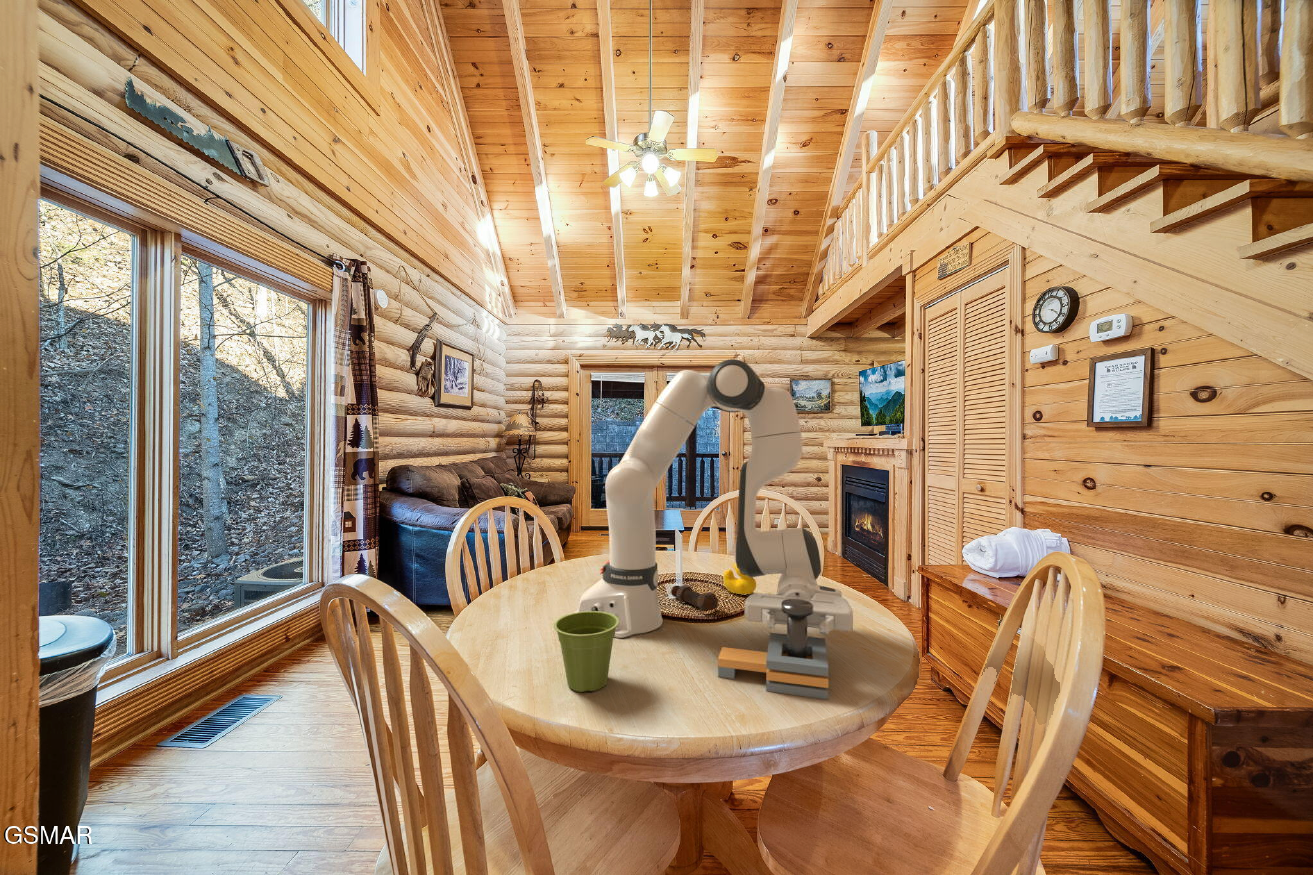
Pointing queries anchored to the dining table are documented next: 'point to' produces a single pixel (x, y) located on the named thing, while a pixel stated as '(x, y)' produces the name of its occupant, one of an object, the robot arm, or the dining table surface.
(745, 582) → the duckling
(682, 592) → the bolt
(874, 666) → the dining table surface
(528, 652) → the dining table surface
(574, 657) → the plant pot
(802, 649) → the pin
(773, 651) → the bracket
